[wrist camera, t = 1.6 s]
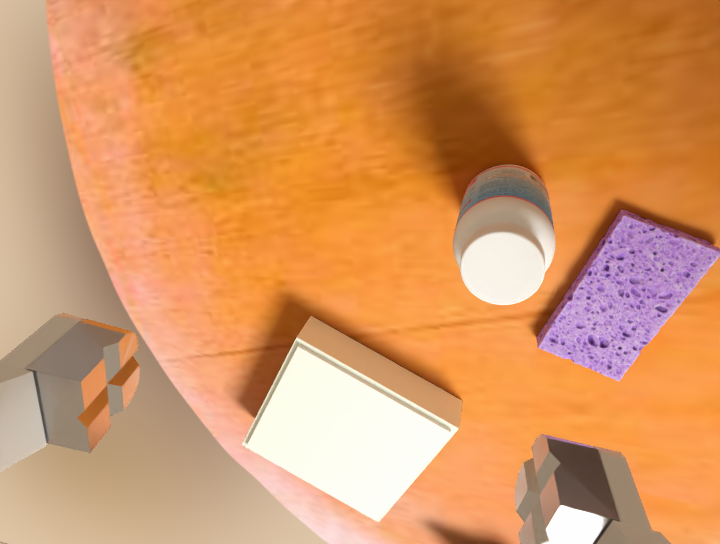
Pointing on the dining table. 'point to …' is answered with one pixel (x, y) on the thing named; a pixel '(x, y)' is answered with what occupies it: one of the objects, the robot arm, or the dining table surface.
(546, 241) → the pill bottle
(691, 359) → the dining table surface
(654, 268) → the sponges
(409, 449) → the base block
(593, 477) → the robot arm
